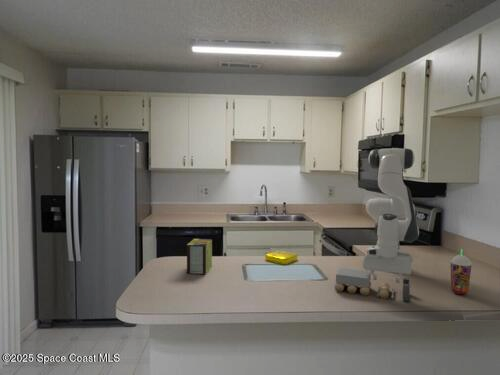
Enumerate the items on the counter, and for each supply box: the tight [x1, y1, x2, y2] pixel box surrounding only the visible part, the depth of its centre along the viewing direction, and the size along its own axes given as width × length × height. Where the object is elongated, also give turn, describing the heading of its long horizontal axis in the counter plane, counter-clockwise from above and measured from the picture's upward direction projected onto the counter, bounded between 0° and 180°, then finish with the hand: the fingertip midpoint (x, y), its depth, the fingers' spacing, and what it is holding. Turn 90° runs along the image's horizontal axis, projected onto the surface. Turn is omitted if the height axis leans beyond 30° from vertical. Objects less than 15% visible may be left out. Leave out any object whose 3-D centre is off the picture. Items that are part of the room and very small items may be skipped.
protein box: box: [186, 238, 213, 275], centre depth 191 cm, size 10×15×16 cm
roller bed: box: [334, 281, 395, 301], centre depth 161 cm, size 12×25×4 cm, turn 67°
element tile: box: [264, 250, 298, 265], centre depth 213 cm, size 15×15×5 cm
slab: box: [335, 267, 372, 288], centre depth 163 cm, size 12×14×4 cm
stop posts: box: [402, 277, 411, 303], centre depth 154 cm, size 11×2×7 cm, turn 157°
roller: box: [379, 281, 390, 300], centre depth 158 cm, size 12×4×4 cm, turn 157°
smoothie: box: [449, 248, 473, 295], centre depth 162 cm, size 8×8×20 cm
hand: (386, 281), depth 158 cm, fingers open, 8 cm apart
